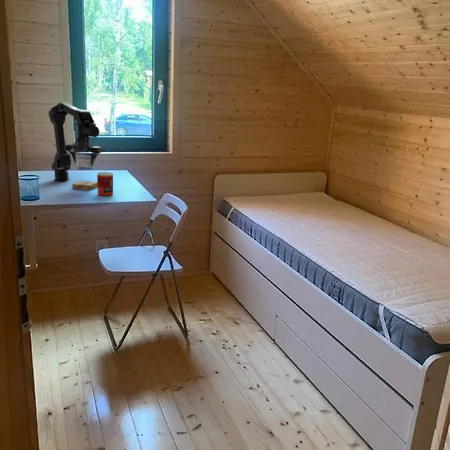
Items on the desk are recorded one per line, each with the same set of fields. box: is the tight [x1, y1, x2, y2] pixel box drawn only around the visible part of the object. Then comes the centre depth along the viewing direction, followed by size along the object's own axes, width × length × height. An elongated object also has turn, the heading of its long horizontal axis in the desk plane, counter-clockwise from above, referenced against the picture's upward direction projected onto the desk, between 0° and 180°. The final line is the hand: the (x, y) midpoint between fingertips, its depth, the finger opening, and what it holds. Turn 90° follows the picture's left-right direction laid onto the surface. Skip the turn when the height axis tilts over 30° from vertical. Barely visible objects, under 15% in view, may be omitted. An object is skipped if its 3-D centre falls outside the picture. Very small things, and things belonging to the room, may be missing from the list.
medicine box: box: [75, 152, 93, 171], centre depth 253 cm, size 8×4×9 cm, turn 117°
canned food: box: [96, 171, 114, 197], centre depth 243 cm, size 8×8×11 cm
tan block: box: [71, 180, 98, 191], centre depth 257 cm, size 10×10×3 cm
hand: (84, 164), depth 253 cm, fingers closed on medicine box, 9 cm apart
